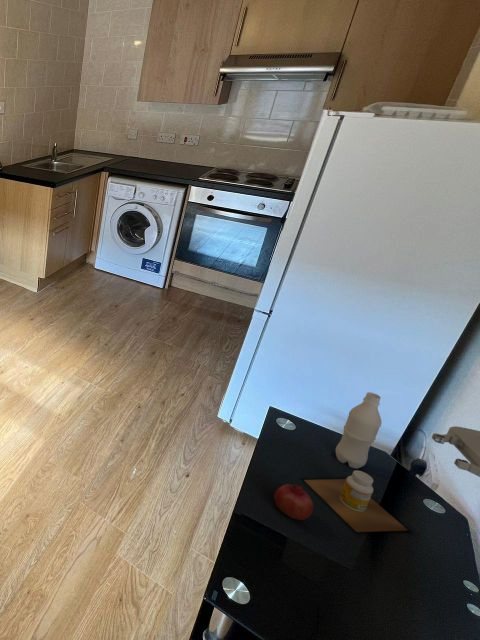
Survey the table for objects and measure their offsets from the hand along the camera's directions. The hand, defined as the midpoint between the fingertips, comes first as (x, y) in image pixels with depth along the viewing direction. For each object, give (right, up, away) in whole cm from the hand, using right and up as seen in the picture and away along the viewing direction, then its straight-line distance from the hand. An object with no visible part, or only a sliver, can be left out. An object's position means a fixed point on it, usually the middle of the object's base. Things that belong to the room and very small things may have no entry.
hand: (444, 449), depth 100 cm
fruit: (-31, -22, +9) cm, 39 cm away
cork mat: (-11, -22, +12) cm, 27 cm away
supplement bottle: (-12, -21, +12) cm, 27 cm away
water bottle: (+2, -17, +27) cm, 32 cm away
